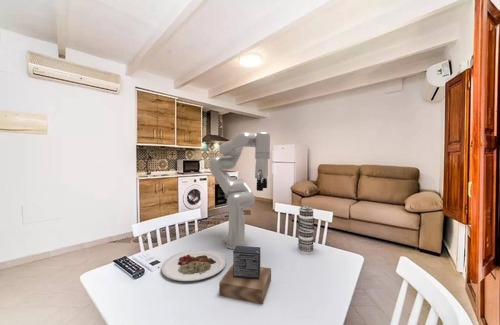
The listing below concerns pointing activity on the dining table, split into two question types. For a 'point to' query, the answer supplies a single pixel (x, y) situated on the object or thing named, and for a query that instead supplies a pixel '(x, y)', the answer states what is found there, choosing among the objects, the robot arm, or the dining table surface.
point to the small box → (246, 262)
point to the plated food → (193, 265)
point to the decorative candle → (306, 230)
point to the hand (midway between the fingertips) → (262, 189)
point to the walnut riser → (246, 286)
